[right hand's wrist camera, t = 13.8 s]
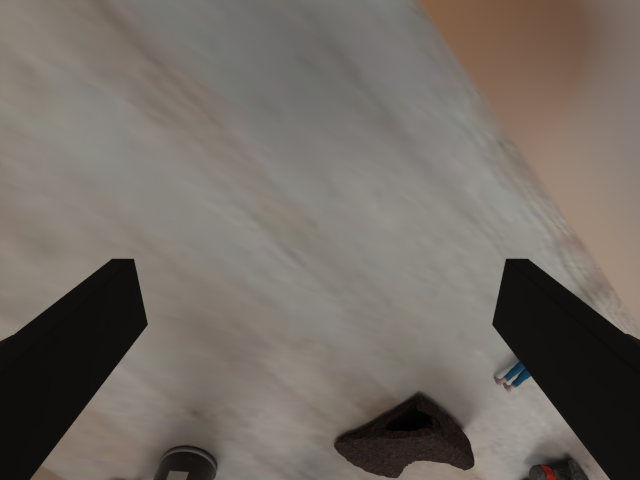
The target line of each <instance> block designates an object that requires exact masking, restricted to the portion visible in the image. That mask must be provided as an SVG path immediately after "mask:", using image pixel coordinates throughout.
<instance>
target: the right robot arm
mask: <svg viewBox="0 0 640 480" xmlns="http://www.w3.org/2000/svg"><path fill="white" fill-rule="evenodd" d="M147 325H148V323H147V318H146V314H145V309H144V304H143V299H142V295H141V290H140V285H139V281H138V276H137V271H136V266H135V262H134V259H111V260H110V261H109V262H107V263H106V264H105V265H103V266H102V267H101V268H100V269H98V270H97V271H96V272H94V273H93V274H92V275H91V276H89V277H88V278H87V279H85V280H84V281H83V282H81V283H80V284H79V285H78V286H76V287H75V288H74V289H72V290H71V291H70V292H69V293H67V294H66V295H65V296H63V297H62V298H61V299H59V300H58V301H57V302H56V303H54V304H53V305H52V306H50V307H49V308H48V309H46V310H45V311H44V312H43V313H41V314H40V315H39V316H37V317H36V318H35V319H34V320H32V321H31V322H30V323H28V324H27V325H26V326H24V327H23V328H22V329H21V330H19V331H18V332H17V333H15V334H14V335H12V336H10V337H8V338H6V339H4V340H2V341H0V480H30V479H31V477H32V476H33V475H34V473H35V472H36V471H37V470H38V468H39V467H40V466H41V464H42V463H43V462H44V460H45V459H46V458H47V456H48V455H49V454H50V452H51V451H52V450H53V449H54V447H55V446H56V445H57V443H58V442H59V441H60V439H61V438H62V437H63V435H64V434H65V433H66V431H67V430H68V429H69V428H70V426H71V425H72V424H73V422H74V421H75V420H76V418H77V417H78V416H79V414H80V413H81V412H82V410H83V409H84V408H85V406H86V405H87V404H88V403H89V401H90V400H91V399H92V397H93V396H94V395H95V393H96V392H97V391H98V389H99V388H100V387H101V385H102V384H103V383H104V382H105V380H106V379H107V378H108V376H109V375H110V374H111V372H112V371H113V370H114V368H115V367H116V366H117V364H118V363H119V362H120V361H121V359H122V358H123V357H124V355H125V354H126V353H127V351H128V350H129V349H130V347H131V346H132V345H133V343H134V342H135V341H136V339H137V338H138V337H139V336H140V334H141V333H142V332H143V330H144V329H145V328H146V326H147ZM492 325H493V326H494V328H495V329H496V330H497V332H498V333H499V334H500V336H501V337H502V338H503V339H504V341H505V342H506V343H507V345H508V346H509V347H510V349H511V350H512V351H513V353H514V354H515V355H516V357H517V358H518V359H519V361H520V362H521V363H522V364H523V366H524V367H525V368H526V370H527V371H528V372H529V374H530V375H531V376H532V378H533V379H534V380H535V382H536V383H537V384H538V385H539V387H540V388H541V389H542V391H543V392H544V393H545V395H546V396H547V397H548V399H549V400H550V401H551V403H552V404H553V405H554V406H555V408H556V409H557V410H558V412H559V413H560V414H561V416H562V417H563V418H564V420H565V421H566V422H567V424H568V425H569V426H570V428H571V429H572V430H573V431H574V433H575V434H576V435H577V437H578V438H579V439H580V441H581V442H582V443H583V445H584V446H585V447H586V449H587V450H588V451H589V452H590V454H591V455H592V456H593V458H594V459H595V460H596V462H597V463H598V464H599V466H600V467H601V468H602V470H603V471H604V472H605V474H606V475H607V476H608V477H609V479H610V480H640V340H639V339H637V338H635V337H633V336H631V335H629V334H625V333H623V332H622V331H621V330H619V329H618V328H617V327H616V326H614V325H613V324H612V323H610V322H609V321H608V320H606V319H605V318H604V317H603V316H601V315H600V314H599V313H597V312H596V311H595V310H594V309H592V308H591V307H590V306H588V305H587V304H586V303H584V302H583V301H582V300H581V299H579V298H578V297H577V296H575V295H574V294H573V293H571V292H570V291H569V290H568V289H566V288H565V287H564V286H562V285H561V284H560V283H559V282H557V281H556V280H555V279H553V278H552V277H551V276H549V275H548V274H547V273H546V272H544V271H543V270H542V269H540V268H539V267H538V266H537V265H535V264H534V263H533V262H531V261H530V260H529V259H506V262H505V266H504V271H503V276H502V281H501V285H500V290H499V295H498V299H497V304H496V309H495V314H494V318H493V323H492Z"/></svg>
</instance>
